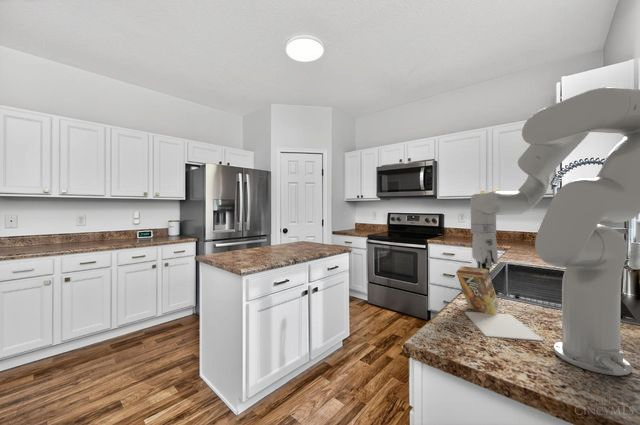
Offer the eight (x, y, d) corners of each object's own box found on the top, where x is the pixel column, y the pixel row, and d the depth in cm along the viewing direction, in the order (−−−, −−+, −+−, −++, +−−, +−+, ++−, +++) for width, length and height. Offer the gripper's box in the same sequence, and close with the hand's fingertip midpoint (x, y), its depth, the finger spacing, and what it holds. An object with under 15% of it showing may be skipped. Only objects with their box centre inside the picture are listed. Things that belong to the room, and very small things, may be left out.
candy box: (500, 307, 89) (488, 268, 86) (495, 315, 87) (482, 275, 84) (473, 301, 97) (461, 265, 94) (468, 308, 95) (455, 271, 92)
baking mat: (543, 341, 71) (543, 340, 71) (485, 336, 74) (485, 335, 74) (510, 315, 88) (510, 314, 88) (464, 312, 91) (464, 311, 91)
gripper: (505, 230, 84) (506, 288, 84) (486, 227, 99) (486, 277, 99) (479, 230, 86) (480, 287, 86) (464, 227, 101) (464, 276, 101)
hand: (483, 281), depth 93 cm, fingers closed
